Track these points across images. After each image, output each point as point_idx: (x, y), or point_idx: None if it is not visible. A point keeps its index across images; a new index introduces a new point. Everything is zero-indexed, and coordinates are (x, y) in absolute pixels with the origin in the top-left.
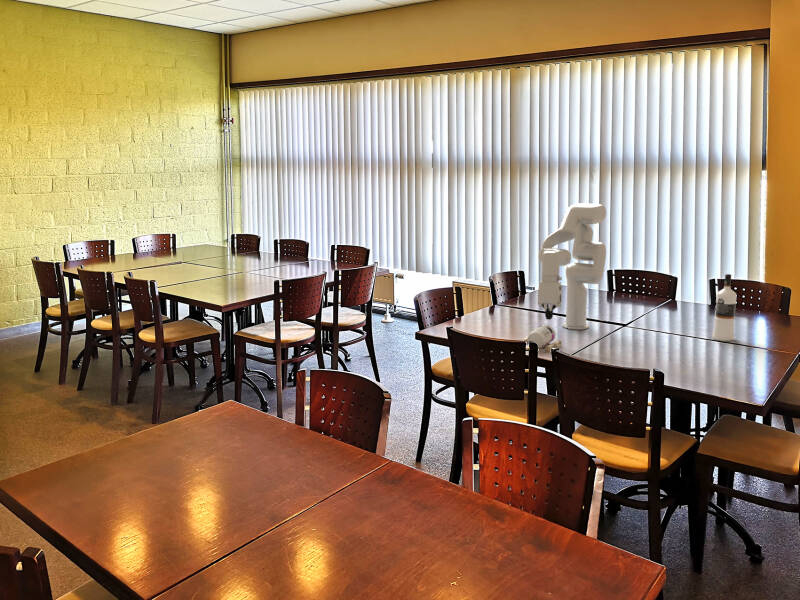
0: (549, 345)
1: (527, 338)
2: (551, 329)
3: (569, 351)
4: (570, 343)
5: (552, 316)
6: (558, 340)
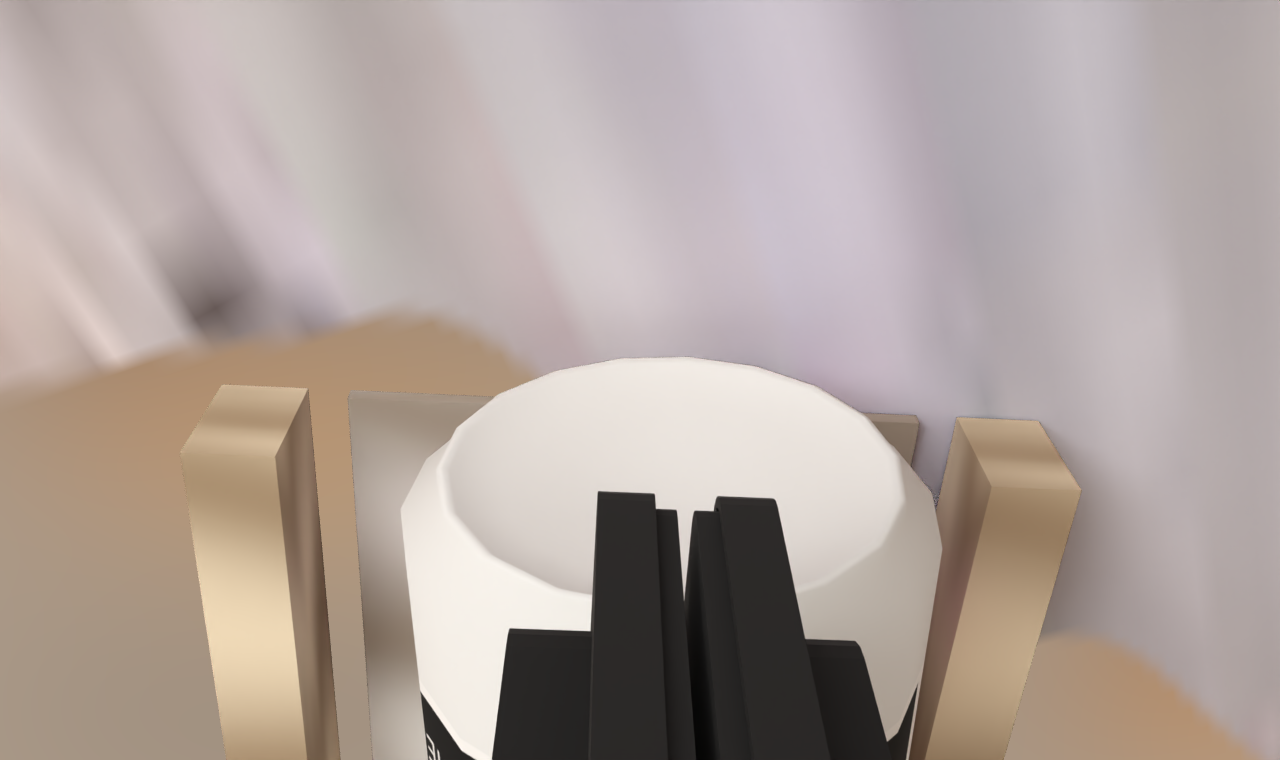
0: None
1: (287, 663)
2: None
3: (1253, 696)
4: (1225, 110)
5: (857, 674)
6: (1008, 514)
